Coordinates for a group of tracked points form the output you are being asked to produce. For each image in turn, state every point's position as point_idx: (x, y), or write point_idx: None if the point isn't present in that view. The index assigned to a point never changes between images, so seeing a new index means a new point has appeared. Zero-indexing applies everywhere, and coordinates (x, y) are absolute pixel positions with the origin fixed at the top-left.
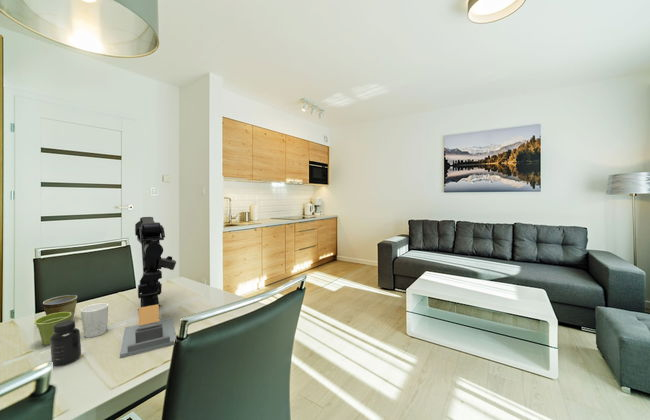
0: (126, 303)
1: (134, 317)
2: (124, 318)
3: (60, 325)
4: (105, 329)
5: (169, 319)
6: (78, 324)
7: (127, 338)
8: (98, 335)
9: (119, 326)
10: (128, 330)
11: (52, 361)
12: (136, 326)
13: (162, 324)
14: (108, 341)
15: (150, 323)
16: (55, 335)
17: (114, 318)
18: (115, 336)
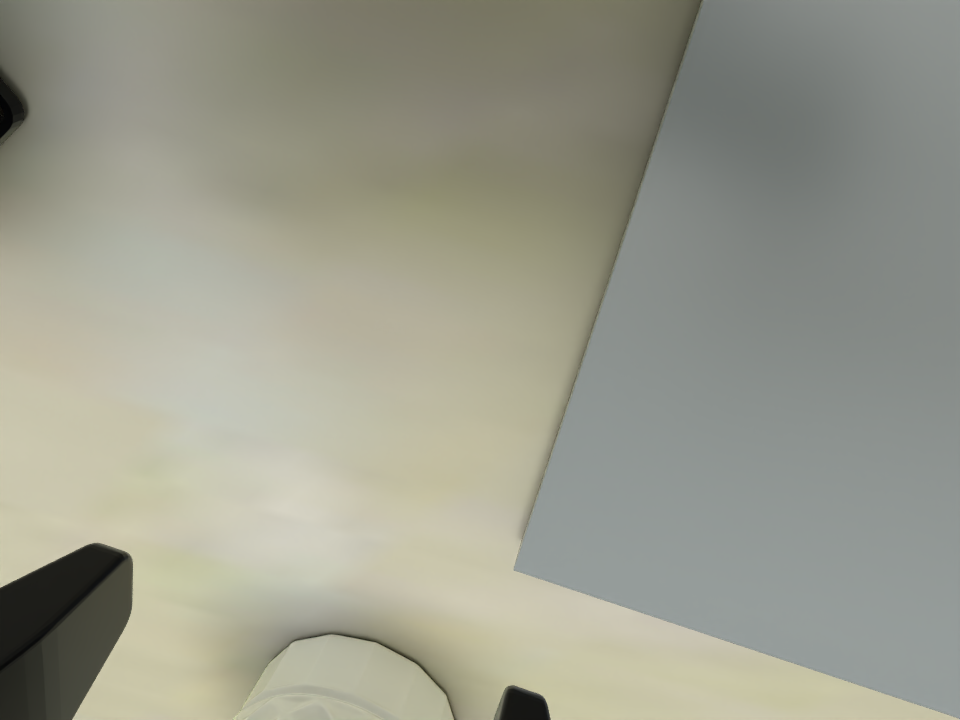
0: None
1: (146, 343)
2: (111, 431)
3: None
4: (408, 690)
5: (782, 16)
6: None
7: (919, 662)
8: (451, 714)
9: (342, 538)
10: (659, 579)
11: None
12: (606, 484)
13: (905, 202)
14: (695, 714)
15: (666, 326)
16: None
17: (48, 498)
18: (617, 644)
